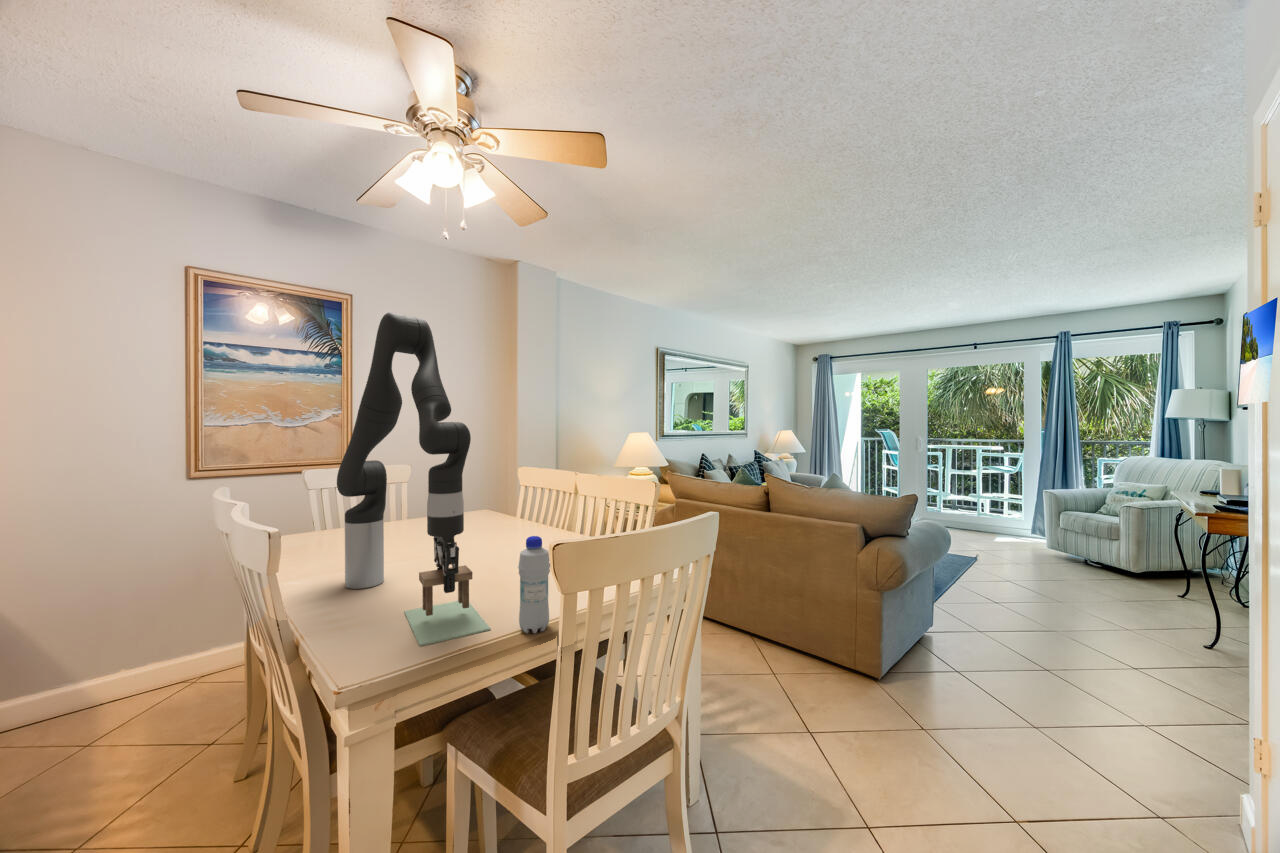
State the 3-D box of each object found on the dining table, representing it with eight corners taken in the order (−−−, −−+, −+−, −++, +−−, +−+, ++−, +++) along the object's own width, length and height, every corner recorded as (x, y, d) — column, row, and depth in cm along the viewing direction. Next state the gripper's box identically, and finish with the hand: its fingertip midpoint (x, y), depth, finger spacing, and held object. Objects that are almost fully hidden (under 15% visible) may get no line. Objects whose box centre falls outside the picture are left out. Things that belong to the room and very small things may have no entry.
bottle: (518, 637, 102) (518, 541, 102) (517, 624, 109) (517, 533, 108) (551, 634, 104) (551, 539, 104) (548, 621, 110) (548, 531, 110)
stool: (465, 599, 115) (465, 565, 115) (472, 607, 110) (472, 572, 110) (419, 608, 110) (419, 572, 110) (424, 617, 105) (424, 580, 105)
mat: (404, 612, 115) (404, 611, 115) (466, 600, 122) (466, 599, 122) (419, 646, 98) (419, 644, 98) (490, 630, 106) (490, 628, 106)
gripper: (471, 515, 106) (471, 594, 106) (455, 505, 118) (455, 576, 118) (434, 519, 102) (434, 601, 102) (421, 508, 114) (421, 581, 114)
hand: (445, 587), depth 110 cm, fingers closed on stool, 6 cm apart
